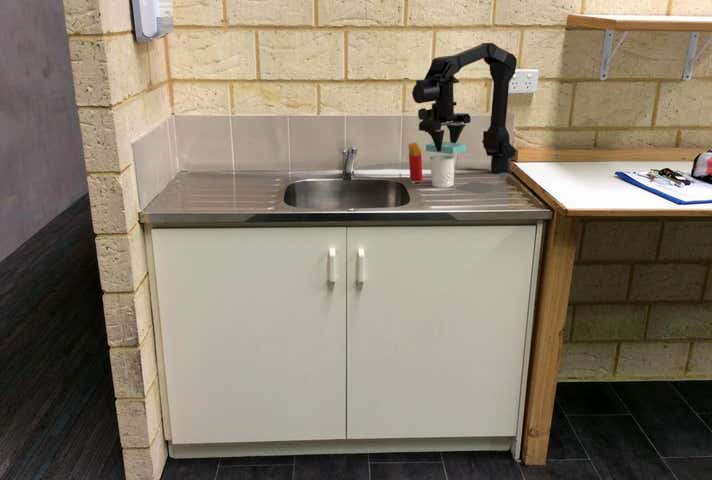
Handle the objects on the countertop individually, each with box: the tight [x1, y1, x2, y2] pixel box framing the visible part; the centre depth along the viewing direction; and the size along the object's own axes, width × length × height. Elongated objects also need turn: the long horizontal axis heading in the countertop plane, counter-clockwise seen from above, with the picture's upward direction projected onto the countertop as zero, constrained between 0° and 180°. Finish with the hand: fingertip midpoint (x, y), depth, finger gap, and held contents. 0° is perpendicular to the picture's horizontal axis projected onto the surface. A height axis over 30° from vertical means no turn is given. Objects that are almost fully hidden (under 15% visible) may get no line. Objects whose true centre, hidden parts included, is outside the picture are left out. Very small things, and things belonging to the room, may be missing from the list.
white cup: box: [429, 154, 455, 188], centre depth 196 cm, size 8×8×10 cm
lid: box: [425, 141, 467, 155], centre depth 192 cm, size 6×11×2 cm, turn 42°
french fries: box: [407, 142, 423, 183], centre depth 207 cm, size 9×4×13 cm, turn 175°
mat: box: [453, 181, 505, 195], centre depth 191 cm, size 10×12×1 cm
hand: (445, 149), depth 193 cm, fingers closed on lid, 6 cm apart
